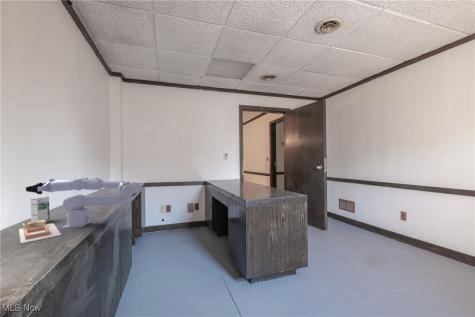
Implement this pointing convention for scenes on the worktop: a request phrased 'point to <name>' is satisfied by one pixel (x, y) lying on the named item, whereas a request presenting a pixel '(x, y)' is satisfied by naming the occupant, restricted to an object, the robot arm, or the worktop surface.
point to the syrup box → (40, 208)
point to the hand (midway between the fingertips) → (32, 187)
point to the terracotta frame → (36, 233)
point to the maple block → (34, 224)
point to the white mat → (51, 227)
